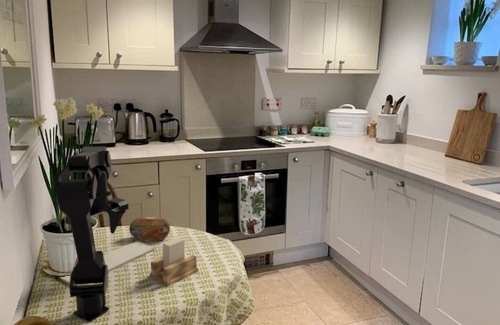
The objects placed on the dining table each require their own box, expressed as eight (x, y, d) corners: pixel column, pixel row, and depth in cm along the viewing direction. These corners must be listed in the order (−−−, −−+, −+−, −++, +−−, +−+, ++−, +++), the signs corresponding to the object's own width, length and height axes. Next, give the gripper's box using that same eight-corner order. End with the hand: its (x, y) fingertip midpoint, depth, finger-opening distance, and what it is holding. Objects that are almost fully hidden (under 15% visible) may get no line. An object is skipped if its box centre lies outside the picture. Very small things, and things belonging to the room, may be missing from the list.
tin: (129, 239, 151) (128, 218, 149) (132, 236, 154) (131, 215, 152) (169, 241, 150) (168, 220, 149) (170, 237, 154) (170, 216, 152)
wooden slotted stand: (168, 286, 119) (167, 270, 118) (150, 275, 125) (149, 261, 124) (197, 271, 128) (197, 257, 127) (179, 262, 134) (179, 248, 133)
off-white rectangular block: (170, 275, 123) (169, 246, 121) (163, 272, 125) (162, 243, 123) (184, 268, 128) (184, 239, 125) (178, 265, 130) (177, 237, 127)
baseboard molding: (53, 277, 124) (76, 289, 118) (52, 268, 123) (75, 280, 117) (132, 243, 149) (154, 251, 143) (132, 235, 148) (154, 244, 142)
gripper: (103, 177, 129) (106, 222, 132) (50, 192, 113) (55, 243, 116) (128, 183, 123) (130, 230, 127) (76, 199, 108) (80, 252, 111)
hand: (100, 238), depth 121 cm, fingers open, 9 cm apart
